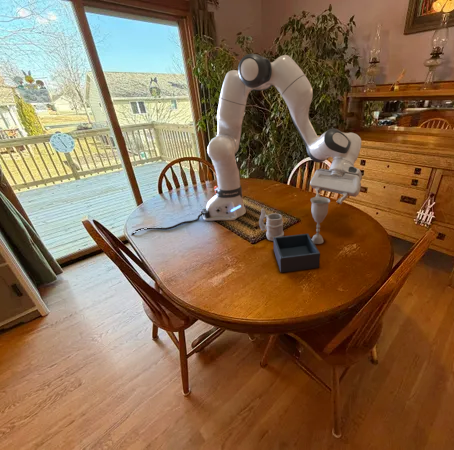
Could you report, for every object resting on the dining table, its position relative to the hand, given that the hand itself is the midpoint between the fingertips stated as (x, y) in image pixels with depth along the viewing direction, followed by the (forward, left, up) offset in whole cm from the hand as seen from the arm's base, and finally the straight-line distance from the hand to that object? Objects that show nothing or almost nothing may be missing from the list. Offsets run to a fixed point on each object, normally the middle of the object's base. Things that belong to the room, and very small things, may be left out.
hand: (327, 201), depth 95 cm
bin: (-17, -15, -15) cm, 27 cm away
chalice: (-5, -5, -15) cm, 17 cm away
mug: (-23, +3, -15) cm, 28 cm away
